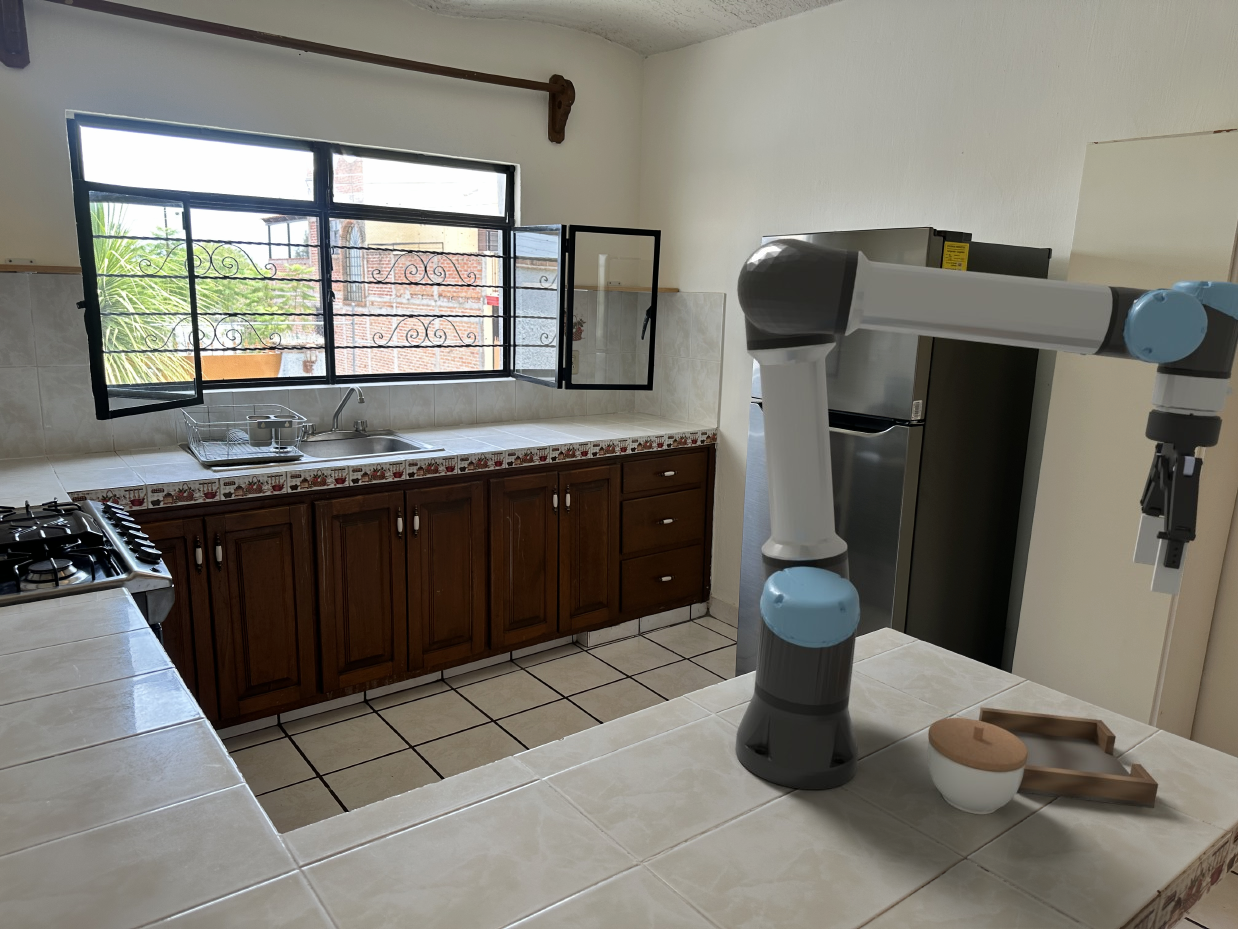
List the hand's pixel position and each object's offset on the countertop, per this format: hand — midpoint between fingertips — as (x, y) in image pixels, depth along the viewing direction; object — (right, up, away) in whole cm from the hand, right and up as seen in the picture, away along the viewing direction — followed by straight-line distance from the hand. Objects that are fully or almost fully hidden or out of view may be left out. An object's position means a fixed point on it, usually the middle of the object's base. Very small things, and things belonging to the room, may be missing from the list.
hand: (1153, 577), depth 107 cm
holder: (-11, -24, +2) cm, 27 cm away
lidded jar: (-26, -26, -7) cm, 37 cm away
